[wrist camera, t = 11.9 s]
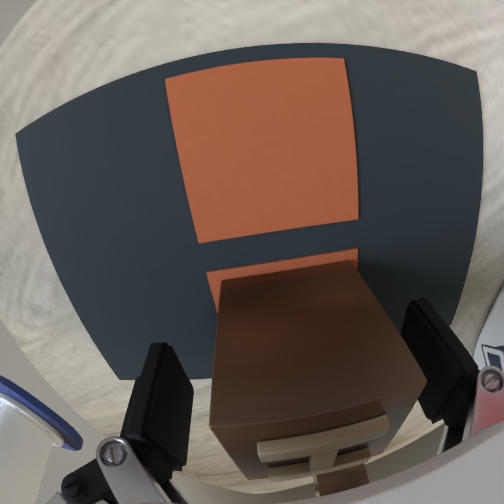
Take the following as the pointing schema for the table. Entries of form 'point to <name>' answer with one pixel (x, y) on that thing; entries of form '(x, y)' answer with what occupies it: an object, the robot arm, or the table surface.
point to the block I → (340, 480)
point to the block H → (307, 373)
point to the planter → (492, 337)
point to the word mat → (255, 186)
